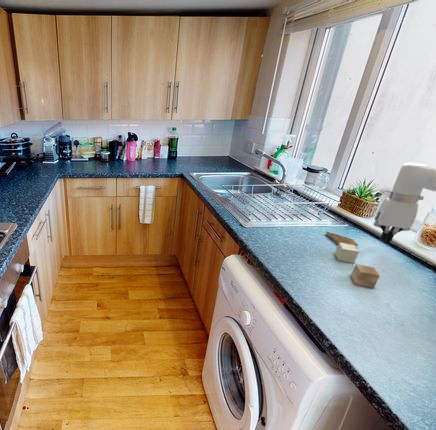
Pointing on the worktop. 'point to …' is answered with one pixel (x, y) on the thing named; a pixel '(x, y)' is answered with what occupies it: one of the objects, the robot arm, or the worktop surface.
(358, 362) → the worktop surface
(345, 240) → the shard
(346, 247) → the cream block
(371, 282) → the maple block
